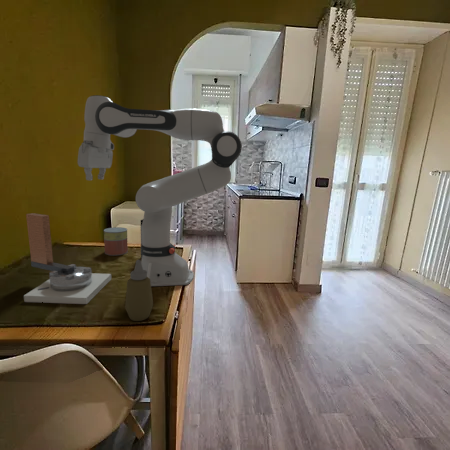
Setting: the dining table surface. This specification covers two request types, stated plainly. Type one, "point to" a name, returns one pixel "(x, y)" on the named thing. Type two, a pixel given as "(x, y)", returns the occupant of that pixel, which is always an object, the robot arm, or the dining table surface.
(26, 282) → the dining table surface
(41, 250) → the silver brown l-shaped piece
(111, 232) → the canned food
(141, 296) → the squeeze bottle
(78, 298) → the white square board
